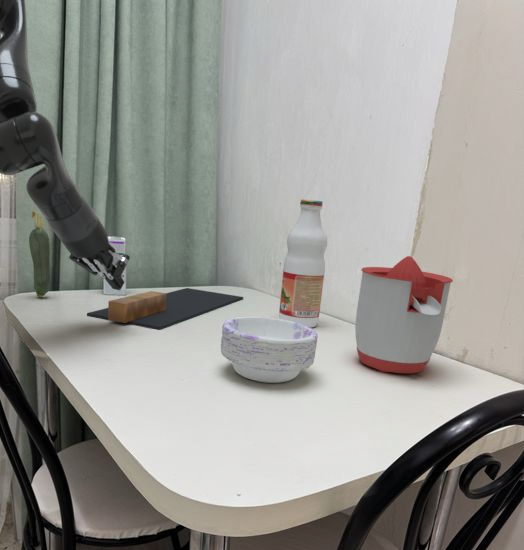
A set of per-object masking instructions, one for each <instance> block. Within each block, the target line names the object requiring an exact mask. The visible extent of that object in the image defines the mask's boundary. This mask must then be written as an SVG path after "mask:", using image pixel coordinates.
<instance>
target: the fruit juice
mask: <svg viewBox="0 0 524 550" xmlns="http://www.w3.org/2000/svg"><path fill="white" fill-rule="evenodd" d="M299 207H300V212H299V213H300V214H299V216H298V219H297V221H296V223H295V225H294V226H293V227H292V229H291V230H290V231H289V232H288V235H287V239H286V247H287V255H286V257H285V258H284V262H283V269H282V271H283V272H282V280H281V289H280V301H279V311H278V319H283V320H288V321H292V322H296V323H299V324H302V325H305V326H308V327H310V328H311V329H312V328H316V327H317V326H318V324H319V318H320V311H321V304H322V296H323V287H324V278H325V272H326V260H325V253H326V249H327V247H328V236H327V234H326V232H325V230H324V228H323V226H322V225H323V224H322V220H321V210H322V209H323V201H322V200H314V199H313V200H312V199H300V201H299Z"/></svg>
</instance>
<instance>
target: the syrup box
mask: <svg viewBox="0 0 524 550" xmlns="http://www.w3.org/2000/svg"><path fill="white" fill-rule="evenodd" d="M108 242H109V244H110V245H111V246H112V247H113V248H114V249H115V251H116V253H117V254H119V255H120V256H123V255H124V254H127V247H126V246H127V245H126V243H127V242H126V237H122V236H108ZM115 264H116V263H115ZM121 277H122V279H123V280H124V284H123V286H122V288H121V289H120V290H116V289H112V287H111V286H110V285H109V284H108V282H107V281H106V279H104V278H102V280H103V281H102V284H103V285H102V287H103V288H102V289H103V290H102V291H103V295H106V296H107V295H109V296H126V294H127V266H126V267H125V269H124V271H123V273H122V275H121Z"/></svg>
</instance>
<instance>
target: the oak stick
mask: <svg viewBox="0 0 524 550" xmlns="http://www.w3.org/2000/svg"><path fill="white" fill-rule="evenodd" d="M166 293H167V292H160V291H154V290H150V291H146V292H141V293H137V294H133V295H128V296H124V297H120V298H115V299H112V300H111V299H110V300H108V305H107V308H108V320H107V321H111V322H117V323H122V324H127V323H126V322H129V321H133V320H136V319H139V318H142V317H146V316H149V315H152V314H155V313H159V312H162V311H165V310H166Z"/></svg>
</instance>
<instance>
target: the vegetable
mask: <svg viewBox="0 0 524 550" xmlns="http://www.w3.org/2000/svg"><path fill="white" fill-rule="evenodd" d="M31 218H34V219H33V225H34V226H33V227H34V229H32V230H31V231H30V233H29V236H28V245H29V251H30V255H31V259H32V264H33V288H34V291H35V294H36V297H38V298H40V299H41V298H43V297H44V296H46V294H47V293H48V292H49V291H50V286H51V248H50V245H51V243H50V237H49V235H48V232H47V231H46V230H45V229H44V227H45V226H44V220H43V218H42V217H41V215H40V214H39V213H38V211H35V210H33V211H32V212H31Z"/></svg>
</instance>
